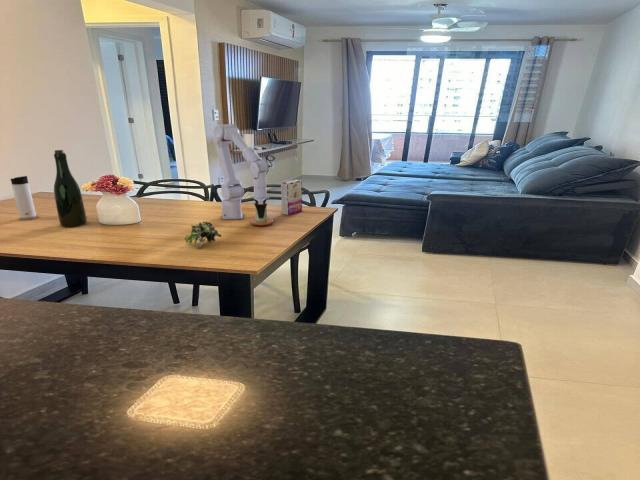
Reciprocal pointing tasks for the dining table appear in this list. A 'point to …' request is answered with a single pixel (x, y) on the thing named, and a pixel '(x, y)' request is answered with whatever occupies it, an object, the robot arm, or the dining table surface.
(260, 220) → the jar
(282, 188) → the candy bar box
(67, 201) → the green wine bottle
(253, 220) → the stand
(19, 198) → the travel mug
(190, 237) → the green leafy plant
